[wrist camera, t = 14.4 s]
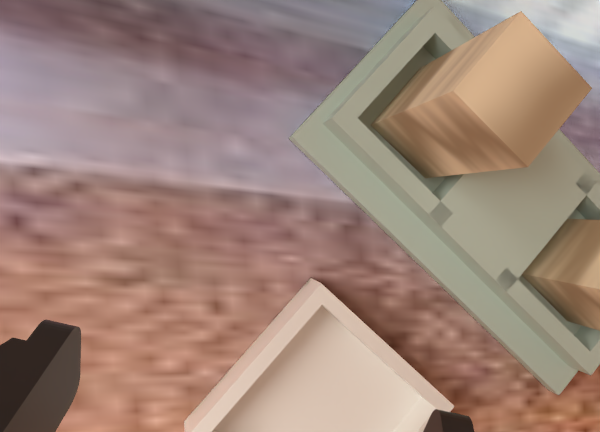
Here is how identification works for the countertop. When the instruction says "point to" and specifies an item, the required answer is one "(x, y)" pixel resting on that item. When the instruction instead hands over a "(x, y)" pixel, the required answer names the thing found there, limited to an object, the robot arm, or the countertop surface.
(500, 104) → the block
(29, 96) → the countertop surface
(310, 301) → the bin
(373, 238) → the countertop surface
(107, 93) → the countertop surface
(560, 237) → the block
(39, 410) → the robot arm
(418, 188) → the green slotted tray
